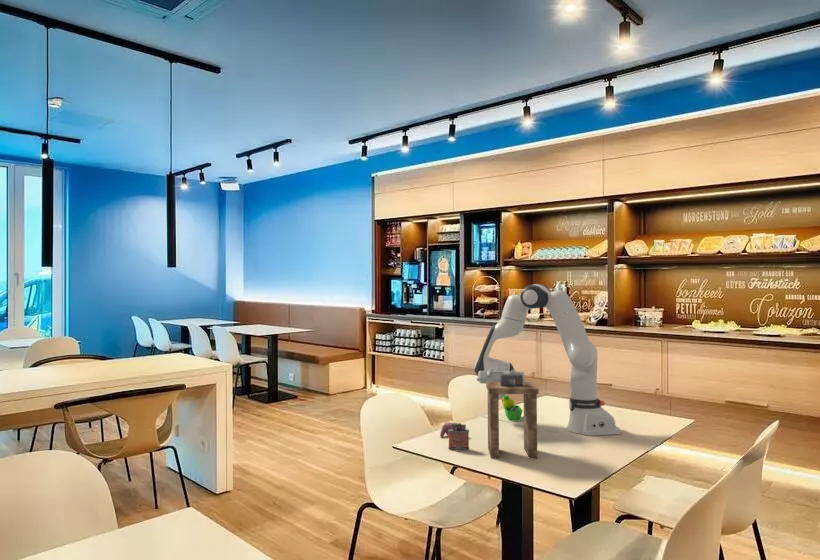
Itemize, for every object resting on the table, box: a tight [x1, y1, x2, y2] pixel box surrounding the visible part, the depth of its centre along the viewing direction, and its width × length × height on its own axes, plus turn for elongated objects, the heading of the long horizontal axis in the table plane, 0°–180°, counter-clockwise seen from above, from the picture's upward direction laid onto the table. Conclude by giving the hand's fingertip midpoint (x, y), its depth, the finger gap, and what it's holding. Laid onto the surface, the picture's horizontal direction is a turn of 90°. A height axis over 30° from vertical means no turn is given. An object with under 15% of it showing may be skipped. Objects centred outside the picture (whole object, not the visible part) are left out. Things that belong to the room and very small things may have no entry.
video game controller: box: [439, 422, 458, 438], centre depth 230 cm, size 10×5×7 cm, turn 71°
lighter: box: [448, 422, 470, 451], centre depth 212 cm, size 8×3×10 cm, turn 84°
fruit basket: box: [501, 394, 524, 421], centre depth 261 cm, size 11×9×11 cm
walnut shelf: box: [485, 381, 539, 460], centre depth 206 cm, size 18×14×26 cm
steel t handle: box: [500, 372, 523, 386], centre depth 214 cm, size 8×18×4 cm, turn 177°
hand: (502, 370), depth 234 cm, fingers open, 8 cm apart
